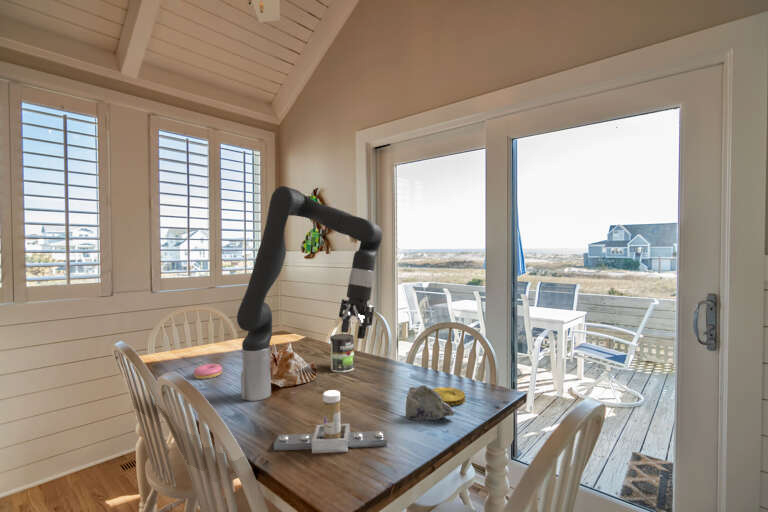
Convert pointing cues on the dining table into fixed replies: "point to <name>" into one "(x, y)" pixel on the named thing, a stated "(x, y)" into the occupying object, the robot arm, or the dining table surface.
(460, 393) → the gold slotted disc
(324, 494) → the dining table surface
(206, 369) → the doughnut
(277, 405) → the dining table surface
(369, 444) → the right link bar
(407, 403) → the mineral rock
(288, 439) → the left link bar
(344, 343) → the coffee can
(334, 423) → the sprinkles bottle
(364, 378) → the dining table surface
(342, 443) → the link socket
